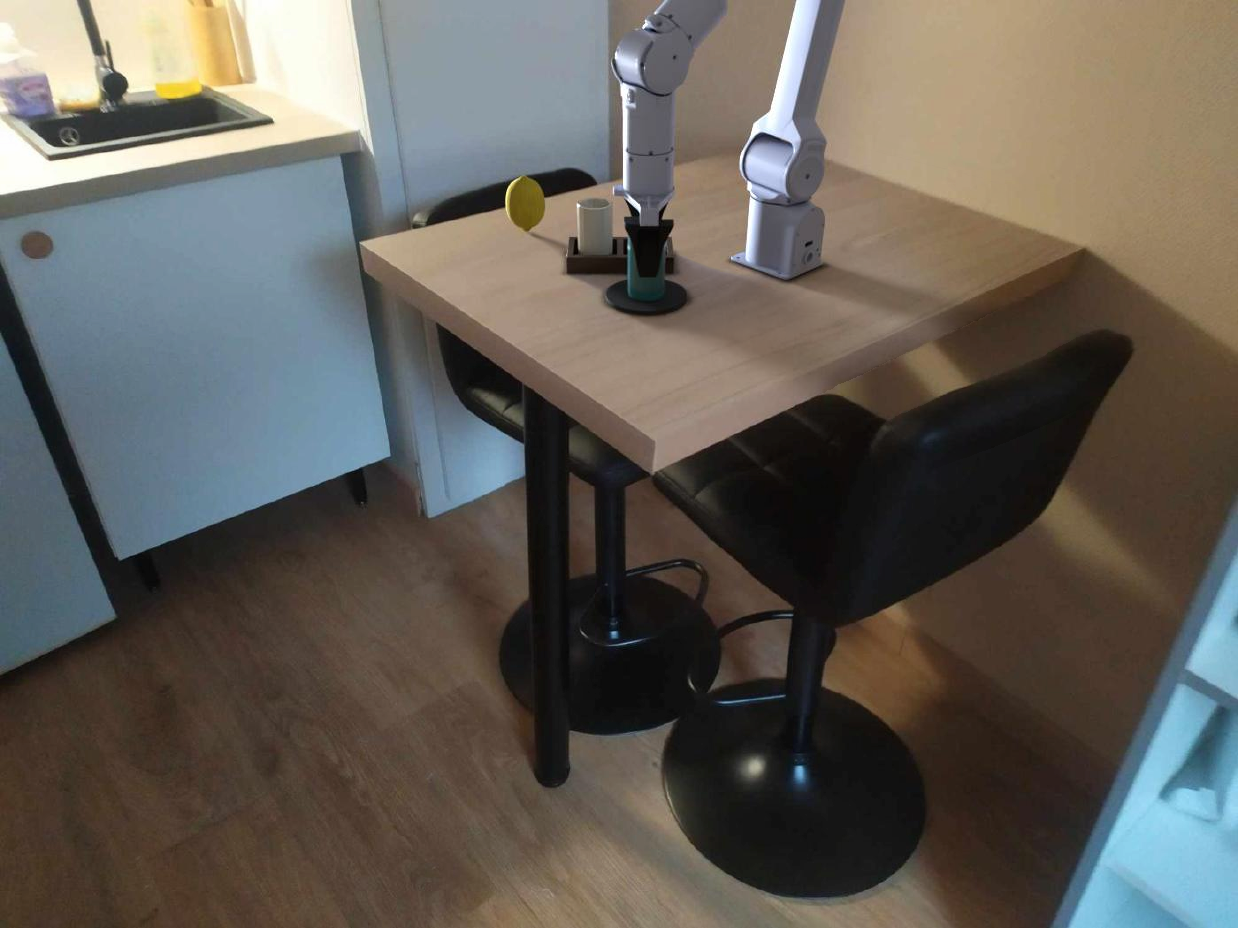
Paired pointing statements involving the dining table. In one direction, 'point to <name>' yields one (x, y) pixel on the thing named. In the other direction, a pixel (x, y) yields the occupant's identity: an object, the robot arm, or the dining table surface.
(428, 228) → the dining table surface
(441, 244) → the dining table surface
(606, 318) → the dining table surface
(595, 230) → the cream cup
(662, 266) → the teal cup
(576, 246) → the holder
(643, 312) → the coaster
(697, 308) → the dining table surface
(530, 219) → the lemon
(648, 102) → the robot arm
